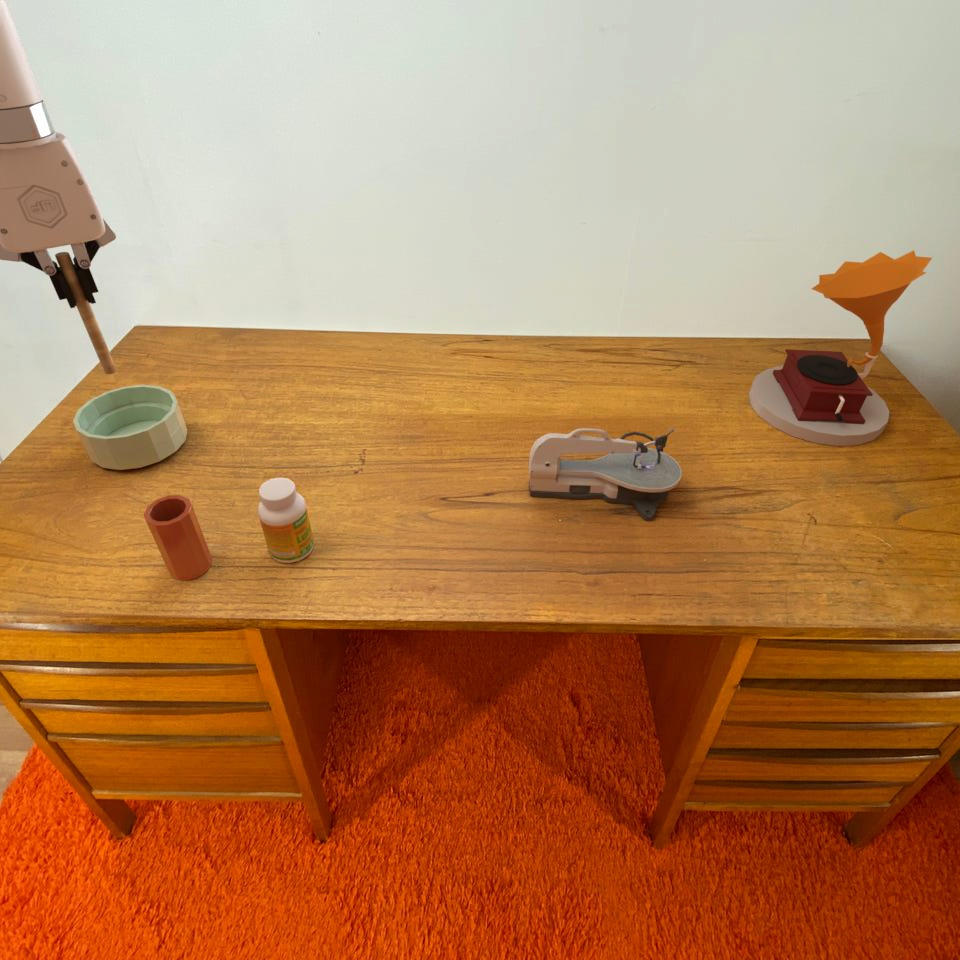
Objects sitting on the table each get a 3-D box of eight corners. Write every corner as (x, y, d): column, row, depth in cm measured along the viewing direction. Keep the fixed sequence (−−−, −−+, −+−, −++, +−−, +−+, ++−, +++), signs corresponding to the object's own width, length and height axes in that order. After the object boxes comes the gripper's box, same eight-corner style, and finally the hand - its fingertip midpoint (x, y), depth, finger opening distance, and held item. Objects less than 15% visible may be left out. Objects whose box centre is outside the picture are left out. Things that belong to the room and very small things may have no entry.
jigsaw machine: (535, 453, 76) (531, 400, 85) (529, 517, 83) (526, 462, 91) (703, 458, 76) (682, 404, 84) (683, 522, 83) (665, 466, 91)
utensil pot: (175, 586, 73) (150, 531, 67) (164, 560, 76) (139, 505, 70) (217, 569, 75) (196, 513, 69) (205, 544, 78) (184, 489, 72)
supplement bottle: (307, 565, 76) (293, 505, 70) (263, 563, 76) (245, 503, 70) (319, 533, 80) (307, 474, 74) (277, 531, 80) (261, 471, 74)
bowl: (100, 485, 86) (82, 449, 82) (82, 436, 95) (66, 402, 91) (199, 452, 92) (187, 417, 88) (174, 409, 100) (163, 375, 96)
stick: (105, 375, 80) (55, 257, 70) (103, 370, 81) (53, 253, 71) (117, 372, 80) (69, 254, 71) (115, 367, 81) (67, 250, 71)
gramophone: (855, 378, 111) (922, 232, 94) (907, 450, 95) (998, 290, 79) (735, 372, 112) (781, 226, 95) (767, 442, 96) (828, 282, 80)
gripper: (-89, 142, 57) (8, 331, 69) (101, 123, 63) (159, 297, 75) (-89, 126, 61) (1, 305, 73) (88, 109, 68) (144, 276, 80)
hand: (81, 300), depth 74 cm, fingers closed on stick, 1 cm apart
